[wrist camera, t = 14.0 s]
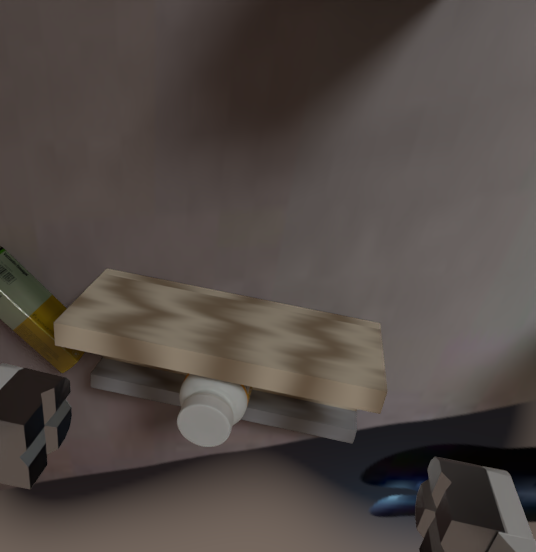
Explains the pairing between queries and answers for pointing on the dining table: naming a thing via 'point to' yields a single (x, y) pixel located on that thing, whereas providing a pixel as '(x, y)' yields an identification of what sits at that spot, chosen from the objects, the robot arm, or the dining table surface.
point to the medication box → (32, 312)
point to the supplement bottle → (210, 409)
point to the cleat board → (229, 350)
